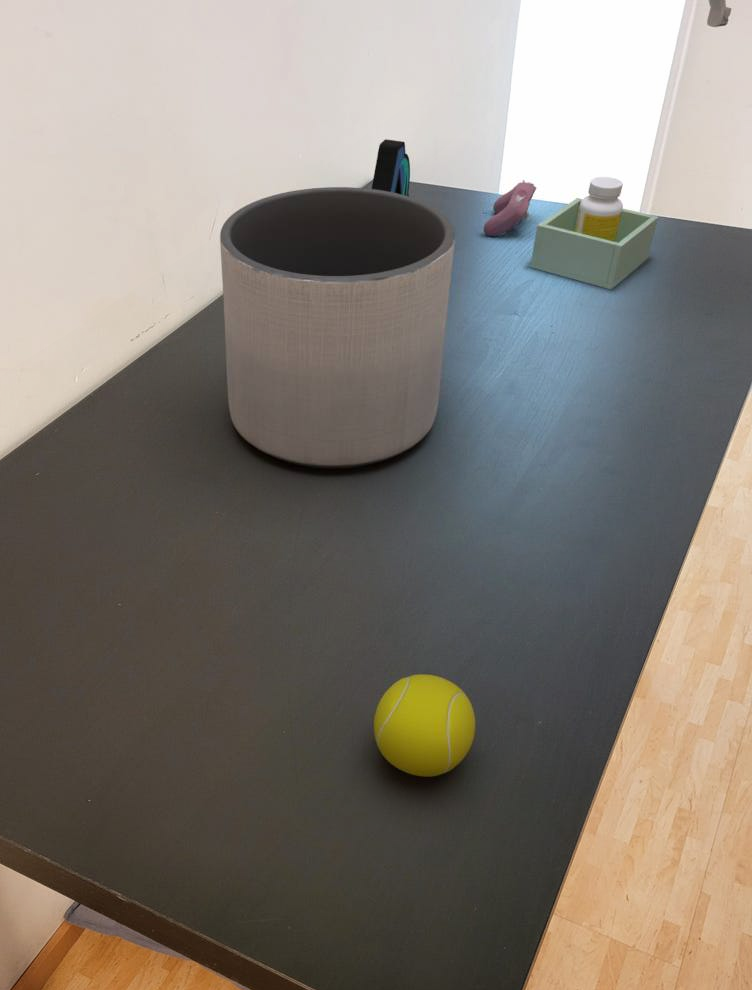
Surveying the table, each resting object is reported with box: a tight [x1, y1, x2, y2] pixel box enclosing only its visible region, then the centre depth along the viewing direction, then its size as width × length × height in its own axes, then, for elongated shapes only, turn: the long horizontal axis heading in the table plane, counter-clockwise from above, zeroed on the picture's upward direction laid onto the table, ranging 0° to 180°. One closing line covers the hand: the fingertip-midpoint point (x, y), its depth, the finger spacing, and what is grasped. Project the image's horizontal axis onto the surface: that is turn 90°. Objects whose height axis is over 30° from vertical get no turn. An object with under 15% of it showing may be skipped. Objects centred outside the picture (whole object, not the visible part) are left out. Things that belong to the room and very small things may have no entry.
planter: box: [219, 186, 456, 469], centre depth 93 cm, size 22×22×20 cm
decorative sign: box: [371, 138, 411, 197], centre depth 123 cm, size 19×2×15 cm, turn 155°
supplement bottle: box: [574, 176, 624, 242], centre depth 123 cm, size 5×5×10 cm
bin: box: [529, 197, 659, 290], centre depth 124 cm, size 12×12×6 cm
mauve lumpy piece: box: [483, 179, 537, 237], centre depth 134 cm, size 10×5×7 cm, turn 161°
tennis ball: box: [373, 673, 476, 778], centre depth 66 cm, size 7×7×7 cm
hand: (749, 21), depth 109 cm, fingers open, 8 cm apart
